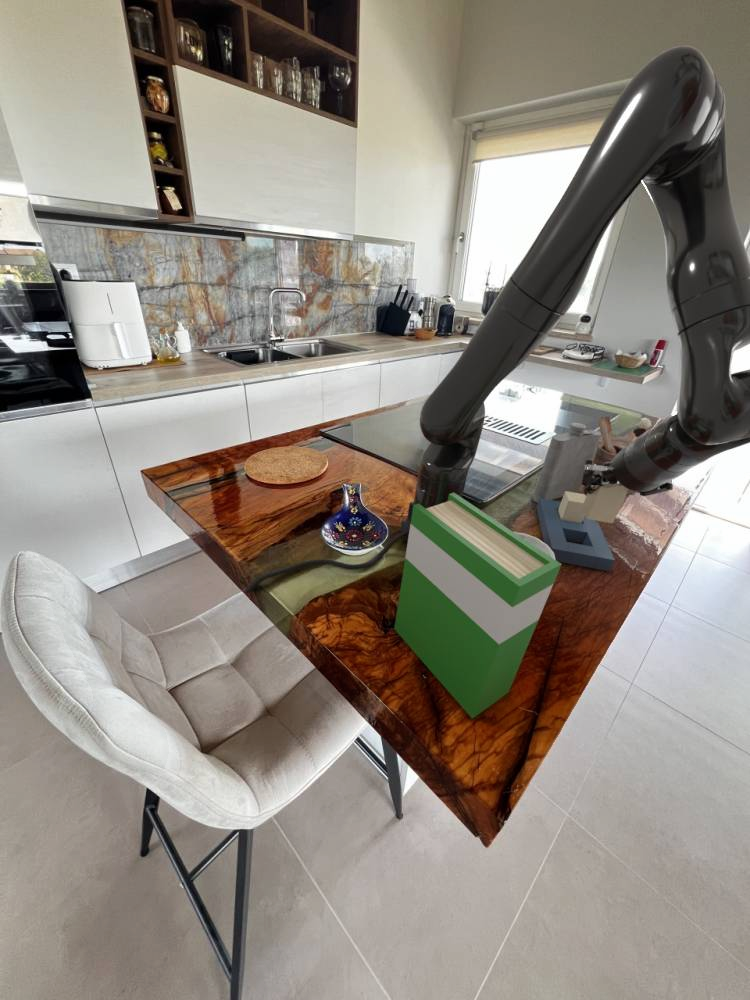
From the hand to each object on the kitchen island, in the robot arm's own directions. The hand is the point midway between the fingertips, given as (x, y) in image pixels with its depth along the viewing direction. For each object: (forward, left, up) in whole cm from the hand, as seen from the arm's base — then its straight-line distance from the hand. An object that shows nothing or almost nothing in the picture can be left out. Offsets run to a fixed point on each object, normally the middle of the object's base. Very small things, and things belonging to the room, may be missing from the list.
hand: (602, 490), depth 76 cm
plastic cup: (-21, -3, -18) cm, 28 cm away
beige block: (-1, -1, -4) cm, 5 cm away
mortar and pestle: (+33, +20, -18) cm, 43 cm away
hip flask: (+20, +22, -18) cm, 35 cm away
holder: (+8, +7, -18) cm, 21 cm away
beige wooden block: (+11, +11, -18) cm, 24 cm away
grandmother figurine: (+70, +33, -18) cm, 80 cm away
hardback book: (-38, -8, -18) cm, 42 cm away
